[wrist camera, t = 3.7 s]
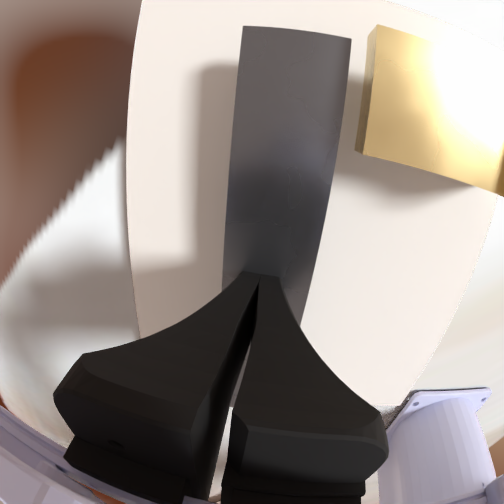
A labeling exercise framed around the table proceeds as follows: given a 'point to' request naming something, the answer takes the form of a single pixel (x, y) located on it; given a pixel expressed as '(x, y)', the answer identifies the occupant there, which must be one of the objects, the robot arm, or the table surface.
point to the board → (340, 201)
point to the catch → (432, 110)
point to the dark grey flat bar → (283, 156)
